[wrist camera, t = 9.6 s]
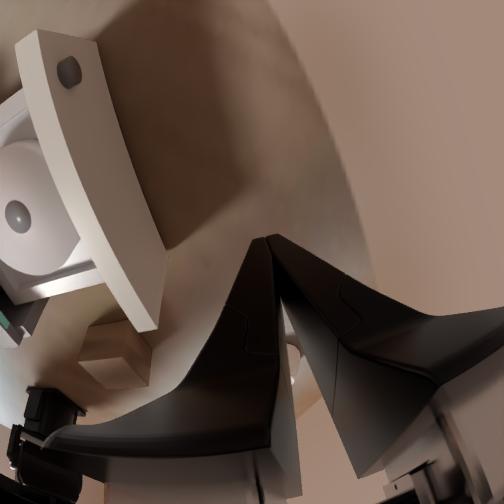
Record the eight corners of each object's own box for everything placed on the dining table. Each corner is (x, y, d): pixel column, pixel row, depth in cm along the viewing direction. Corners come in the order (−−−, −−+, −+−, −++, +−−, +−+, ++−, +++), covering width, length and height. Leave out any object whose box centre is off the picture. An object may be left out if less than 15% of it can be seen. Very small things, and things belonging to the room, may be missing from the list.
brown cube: (152, 351, 22) (148, 386, 19) (112, 356, 22) (106, 389, 19) (129, 319, 19) (121, 357, 16) (88, 326, 19) (77, 361, 16)
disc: (108, 240, 14) (99, 258, 12) (23, 269, 13) (12, 285, 12) (58, 114, 9) (40, 120, 8) (-26, 171, 9) (-42, 182, 8)
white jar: (298, 364, 26) (297, 333, 23) (306, 390, 23) (306, 361, 20) (247, 375, 26) (237, 345, 23) (251, 401, 23) (241, 375, 20)
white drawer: (174, 254, 16) (166, 327, 12) (32, 293, 16) (3, 350, 12) (103, 38, 9) (46, 22, 5) (-42, 140, 9) (-98, 173, 5)
